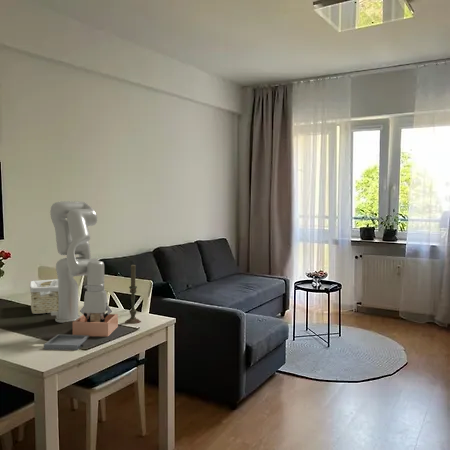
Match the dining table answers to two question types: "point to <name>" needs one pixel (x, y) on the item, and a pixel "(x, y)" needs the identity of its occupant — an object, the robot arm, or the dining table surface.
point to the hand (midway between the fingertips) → (96, 326)
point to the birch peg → (95, 317)
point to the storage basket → (44, 296)
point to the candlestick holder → (132, 298)
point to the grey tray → (66, 342)
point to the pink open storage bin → (95, 326)
